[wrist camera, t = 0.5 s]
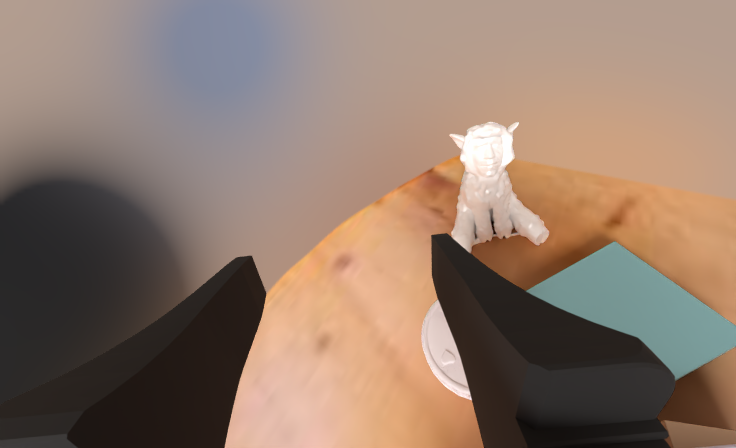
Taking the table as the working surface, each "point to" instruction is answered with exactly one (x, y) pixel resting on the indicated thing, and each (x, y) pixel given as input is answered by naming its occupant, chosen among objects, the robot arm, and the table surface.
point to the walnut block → (697, 435)
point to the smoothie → (443, 352)
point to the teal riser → (641, 307)
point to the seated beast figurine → (490, 190)
